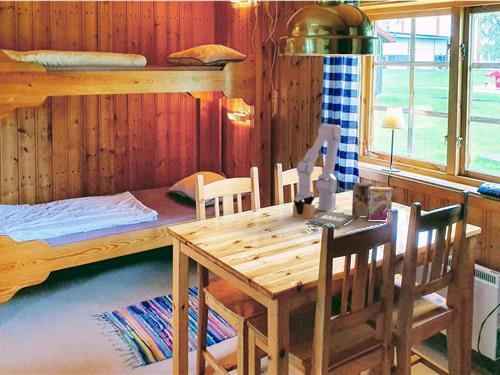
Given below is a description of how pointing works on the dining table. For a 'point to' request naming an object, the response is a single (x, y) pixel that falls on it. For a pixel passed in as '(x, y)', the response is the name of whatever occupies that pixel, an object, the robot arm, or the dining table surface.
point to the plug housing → (305, 211)
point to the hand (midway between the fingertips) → (303, 212)
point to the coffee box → (360, 199)
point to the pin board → (332, 218)
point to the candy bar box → (379, 202)
